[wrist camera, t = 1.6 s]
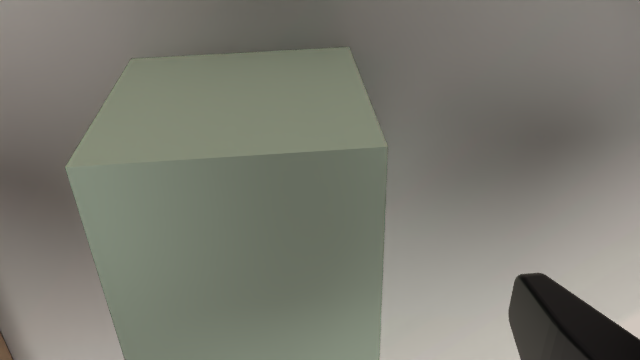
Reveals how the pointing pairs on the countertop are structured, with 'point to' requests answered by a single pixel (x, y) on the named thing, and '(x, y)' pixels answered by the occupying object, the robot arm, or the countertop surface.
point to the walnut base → (4, 350)
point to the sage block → (238, 207)
